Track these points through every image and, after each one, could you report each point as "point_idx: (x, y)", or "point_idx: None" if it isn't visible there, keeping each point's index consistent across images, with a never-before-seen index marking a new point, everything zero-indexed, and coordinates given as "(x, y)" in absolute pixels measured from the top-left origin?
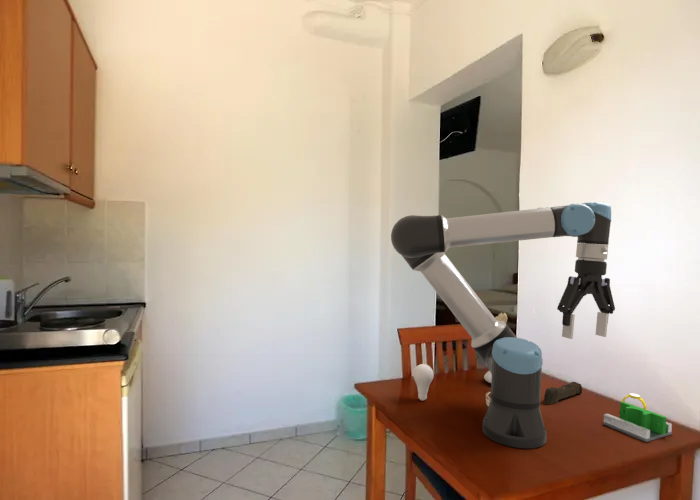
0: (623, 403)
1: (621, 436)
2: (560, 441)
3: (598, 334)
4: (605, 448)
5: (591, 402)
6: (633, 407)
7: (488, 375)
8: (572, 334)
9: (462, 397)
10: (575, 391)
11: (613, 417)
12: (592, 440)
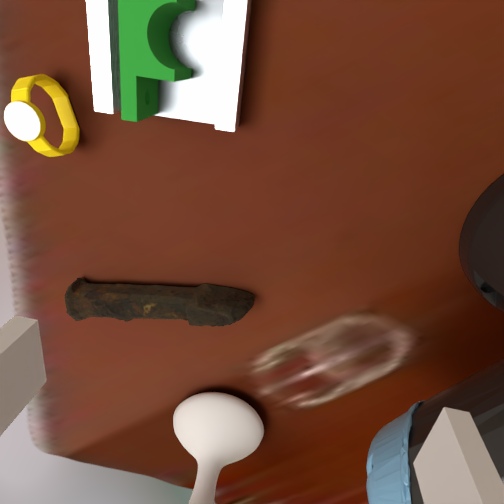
0: (137, 108)
1: (282, 40)
2: (492, 133)
3: (38, 367)
4: (432, 19)
5: (104, 233)
6: (143, 61)
7: (253, 450)
8: (465, 443)
9: None
10: (103, 287)
11: (232, 97)
12: (400, 79)
